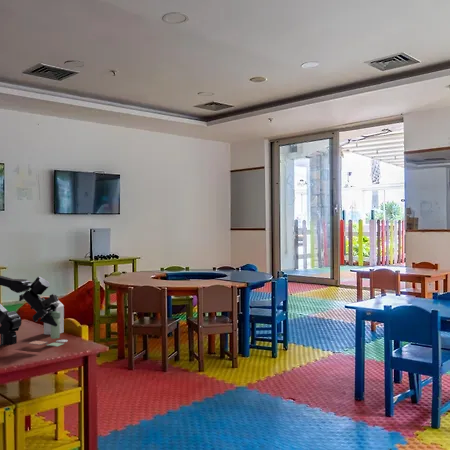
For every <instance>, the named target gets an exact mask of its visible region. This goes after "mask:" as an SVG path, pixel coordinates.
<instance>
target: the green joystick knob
mask: <svg viewBox="0 0 450 450" xmlns="http://www.w3.org/2000/svg"><path fill="white" fill-rule="evenodd" d="M51 316H52V318H53V319H54V320H55V322H56V323H57V326H56V327H55V326H53V325H51V335H50V338H51V339H54V340H55V339H60V338H61V337H60V336H61V333H60V311H53V312H51Z"/></svg>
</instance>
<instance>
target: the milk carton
mask: <svg viewBox="0 0 450 450" xmlns="http://www.w3.org/2000/svg"><path fill="white" fill-rule="evenodd" d="M57 299H58V301H57V302H55V303H56V304H57V305H58V307H57V308H56V311H60V334H63V333H64V330H65V329H64V327H65V326H64V325H65V322H64V321H65V319H64V318H65V308H64V307H65V305H64V304H63V303H62V302H61V301H60V300H59V297H58V298H57ZM51 304H53V303H51ZM43 335H48V336H49V335H50V336H51V325H50V324H47V323H44V322H43Z"/></svg>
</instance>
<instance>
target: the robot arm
mask: <svg viewBox="0 0 450 450" xmlns="http://www.w3.org/2000/svg"><path fill="white" fill-rule="evenodd" d="M0 286H2V287H6V288H7V289H9V290H11V291H12V292H14V293H16V294H19V298H18V302H22V301H23V300H24V301H25V302H26V303H27V304H28V305H29V306H30V309H31V310H33V311H35V313H34V314H33V315H32V320H33V321H34V323H36V322H38V321H39V322H42V323H43V324H44V323H47V324H50V325H53V326H55V327H56V326H57V323H56V322H55V320H54V319H53V318H52V316H51V312H53V311H56V308H57V307H58V305H57V304H56V303H55V302H57V301H58V300H59V297H58V295H57V294H55V293H52V294H50V295H49V297H47V298H45V297H41V295H43V294H44V293H45V291H47V290H48V289H49V287H50V286H51V284H50V282H49V281H48V280H47V279H45V278H43V277H42V276H37V277H36V278H35V280H34V281H33V282H31V281H29V280H28V279H26V278H24V279H23V278H11V277H8V276H3V275H0ZM20 293H23V294H20ZM57 298H58V299H57ZM51 303H53V304H51ZM39 319H40V320H39ZM21 326H22V318H21V315H19V314H18V313H17V312H16V310H12V311H9V310H8V309H6V307H4V306H3V305H2V304H1V303H0V347H2V346H7V345H8V346H9V345H16V344H17V343H18V342H17V340H18V337H17V336H18V335H17V332H18V331H19V329H20V327H21Z"/></svg>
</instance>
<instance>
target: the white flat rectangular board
mask: <svg viewBox="0 0 450 450" xmlns="http://www.w3.org/2000/svg"><path fill="white" fill-rule="evenodd" d="M67 342H68V339H57V340H55V342H54V341H53V342H51V343H49V341H43V340H42V341H41V340H33V341H30V342H27V344H29V345H38V346H39V345H44V344H45V345H46V346H48V347H56V348H57V347H58V348H59V347H60V346H63V345H65V343H67Z"/></svg>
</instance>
